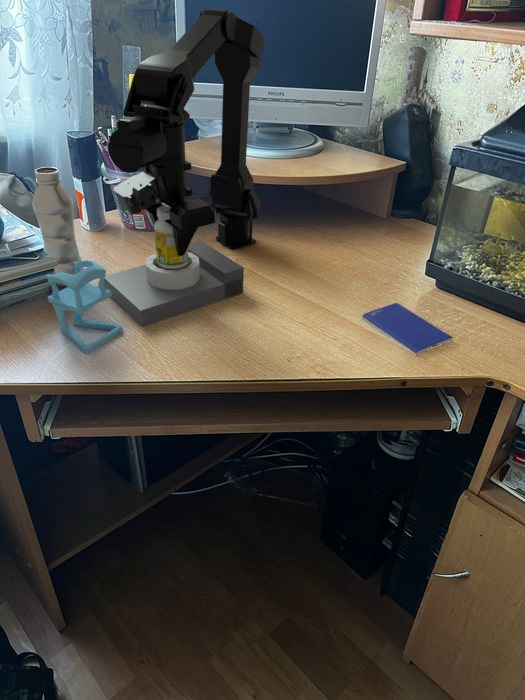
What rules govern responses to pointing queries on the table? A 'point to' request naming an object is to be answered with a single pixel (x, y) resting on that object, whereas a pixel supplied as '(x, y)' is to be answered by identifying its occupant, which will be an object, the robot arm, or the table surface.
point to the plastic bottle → (56, 220)
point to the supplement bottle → (167, 242)
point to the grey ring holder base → (175, 285)
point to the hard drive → (406, 328)
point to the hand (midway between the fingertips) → (172, 249)
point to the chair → (81, 301)
